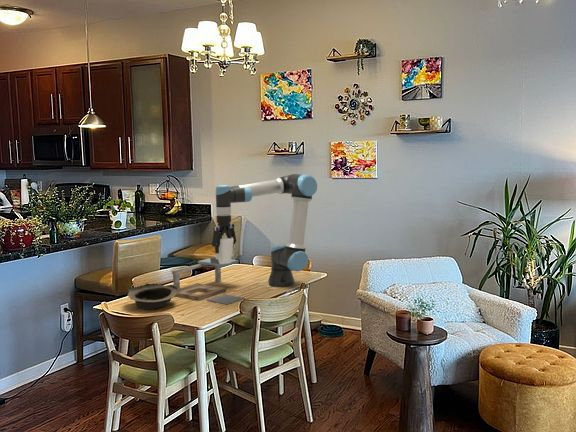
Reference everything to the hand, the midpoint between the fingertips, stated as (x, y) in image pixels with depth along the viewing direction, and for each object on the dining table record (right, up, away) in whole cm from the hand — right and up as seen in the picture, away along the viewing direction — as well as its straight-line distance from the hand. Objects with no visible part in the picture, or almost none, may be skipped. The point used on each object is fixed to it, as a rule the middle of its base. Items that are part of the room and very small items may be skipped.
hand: (224, 257), depth 284 cm
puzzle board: (-12, -20, +23) cm, 33 cm away
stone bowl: (-35, -24, -7) cm, 43 cm away
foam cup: (0, -3, 0) cm, 3 cm away
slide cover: (-7, -5, +30) cm, 31 cm away
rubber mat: (0, -22, +2) cm, 22 cm away
